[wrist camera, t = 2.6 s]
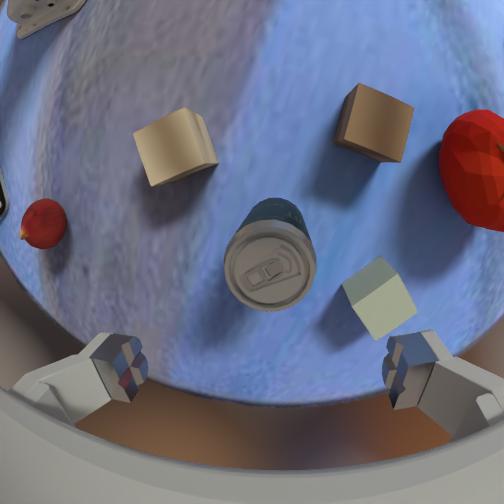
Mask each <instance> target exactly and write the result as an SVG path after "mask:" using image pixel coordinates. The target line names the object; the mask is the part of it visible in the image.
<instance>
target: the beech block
mask: <svg viewBox="0 0 504 504" xmlns="http://www.w3.org/2000/svg"><path fill="white" fill-rule="evenodd" d="M133 135H134V138H135V141H136V144H137V147H138V151H139V153H140V156H141V159H142V162H143V165H144V168H145V171H146V174H147V177H148V179H149V182H150V185H151V187H152V186H156V185H161V184H166V183H171V182H174V181H177V180H179V179H181V178H184V177H186V176H188V175H191V174H193V173H196V172H198V171H201V170H203V169H205V168H208V167H211V166H213V165H216V164H218V163H219V162H218V160H217V157H216V154H215V151H214V149H213V146H212V143H211V140H210V138H209V135H208V132H207V130H206V127H205V124H204V121H203V119H202V116H200V115H198V114H196V113H194V112H192V111H191V110H189V109H187V108H185V107H184V108H182V109H180V110H178V111H176V112H173V113H171V114H169V115H167V116H165V117H163V118H161V119H159V120H157V121H155V122H154V123H152V124H150V125H148V126H146V127H144V128H142V129H140V130H139V131H137V132H135V133H133Z"/></svg>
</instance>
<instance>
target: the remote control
mask: <svg viewBox="0 0 504 504" xmlns="http://www.w3.org/2000/svg"><path fill="white" fill-rule="evenodd" d="M8 208H9V197H8V193H7V190H6V187H5V183H4V179H3V175H2V171H1V167H0V219H1V218H2V217H3V216H4V214H5V213H6V211H7V210H8Z"/></svg>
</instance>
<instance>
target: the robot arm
mask: <svg viewBox="0 0 504 504" xmlns="http://www.w3.org/2000/svg"><path fill="white" fill-rule="evenodd" d="M85 1H86V0H8V7H7V15H8V18H9V19H10V20H12V21H13V22H15V23H18V24H17V37H18V38H19V39H24V38H25V37H27V36H29V35H31V34H32V33H34V32H36V31H38V30H40V29H42V28H44V27H46V26H47V25H49V24H52V23H54V22H56V21H58V20H60V19H62V18H64V17H67V16H69V15H71V14H73V13H75V12H77V11H78V10H79V9H80V8H81V7H82V5H83V4H84V3H85ZM141 349H142V344H141V342H140V339H139V338H137V337H135V336H128V335H121V334H113V333H107V332H101V333H99V334H98V335H97V336H96V337H95V338H94V339H93V340H92V341H91V342H90V343H89V344H88V345H87V346H86V347H85V348H84V349H83V350H82V351H81V352H80V353H79V354H78V355H72V356H70V357H67V358H65V359H62V360H60V361H57V362H55V363H52V364H50V365H47V366H45V367H42V368H40V369H37V370H34V371H32V372H29V373H27V374H25V375H24V376H23V377H22V378H21V379H20V380H19V381H18V382H17V383H16V384H15V385H14V386H13V387H12V388H11V389H10V390H9V391H6V390H5V389H3V388H1V387H0V504H504V379H503V378H501V377H498V376H496V375H494V374H492V373H490V372H488V371H486V370H483V369H481V368H479V367H477V366H475V365H473V364H470V363H468V362H467V361H464V360H462V359H460V358H458V357H455V358H453V357H452V355H451V354H450V353H449V351H448V350H447V348H446V347H445V345H444V344H443V343H442V341H441V340H440V339H439V337H438V336H437V335H436V333H435V332H434V331H433V330H426V331H420V332H417V333H411V334H404V335H396V336H390V337H389V339H388V342H387V349H388V352H389V353H388V354H387V355H386V356H385V357H384V360H383V365H382V376H383V381H384V384H385V386H386V387H388V388H389V389H390V392H389V395H388V396H389V398H390V401H391V404H392V407H393V410H396V409H402V408H408V407H413V406H418V408H419V409H421V410H422V411H423V412H424V413H426V414H427V415H428V416H429V417H430V418H431V419H433V420H434V421H435V422H436V423H437V424H439V425H440V426H441V427H442V428H444V429H445V430H446V431H447V432H448V433H450V434H451V435H452V436H453V437H452V439H451V440H450V441H449V443H448V444H445V445H442V446H439V447H436V448H432V449H429V450H426V451H422V452H419V453H415V454H412V455H408V456H403V457H399V458H395V459H390V460H385V461H380V462H375V463H370V464H363V465H356V466H349V467H341V468H330V469H319V470H318V469H317V470H296V471H295V470H294V471H272V470H271V471H270V470H249V469H236V468H226V467H217V466H210V465H203V464H197V463H191V462H186V461H180V460H176V459H170V458H166V457H162V456H158V455H154V454H150V453H146V452H142V451H139V450H135V449H132V448H129V447H125V446H122V445H119V444H116V443H113V442H110V441H108V440H105V439H102V438H99V437H97V436H94V435H92V434H89V433H87V432H84V431H82V430H79V429H77V428H76V426H75V425H74V424H75V423H76V422H78V421H80V420H81V419H83V418H84V417H86V416H87V415H89V414H90V413H92V412H93V411H95V410H96V409H98V408H99V407H101V406H103V405H104V404H105V403H107V402H109V401H110V400H111V399H115V400H119V401H124V402H128V403H131V402H132V400H133V399H134V397H135V396H136V394H137V392H138V391H139V390H138V385H139V384H141V383H143V382H144V381H145V379H146V377H147V374H148V362H147V359H146V357H145V356H144V355H143V354H142V353H141Z"/></svg>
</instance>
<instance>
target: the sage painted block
mask: <svg viewBox="0 0 504 504" xmlns="http://www.w3.org/2000/svg"><path fill="white" fill-rule="evenodd" d="M342 285H343V288H344V290H345V292H346V294H347V297H348V299H349V301H350V304H351V306H352V308H353V309H354V310H355V312H356V313H357V315H358V316H359V318H360V319H361V320H362V322H363V323H364V325H365V326H366V328H367V329H368V331H369V332H370V333H371V335H372V336H373V338H374V339H375V341H377V340H378V339H380V338H381V337H383V336H384V335H386V334H387V333H389V332H390V331H392V330H393V329H395V328H396V327H398V326H399V325H400V324H402V323H403V322H405V321H406V320H407V319H409V318H410V317H412V316H413V315H414V314H416V313H417V312H418V310H417V308H416V306H415V304H414V303H413V301H412V299H411V297H410V295H409V293H408V291H407V289H406V287H405V285H404V284H403V282H402V280H401V278H400V276H399V275H398V273H397V272H396V271H395V270H394V269H393V268H392V267H391V266H390V265H389V264H388V262H387V261H386V260H385V259H384V258H383V257H382V256H379V257H378V258H376V259H375V260H374V261H372V262H371V263H370V264H368V265H367V266H366V267H364V268H363V269H361V270H360V271H359V272H357V273H356V274H354V275H353V276H352V277H350V278H349V279H347V280H346V281H345V282H343V283H342Z"/></svg>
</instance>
